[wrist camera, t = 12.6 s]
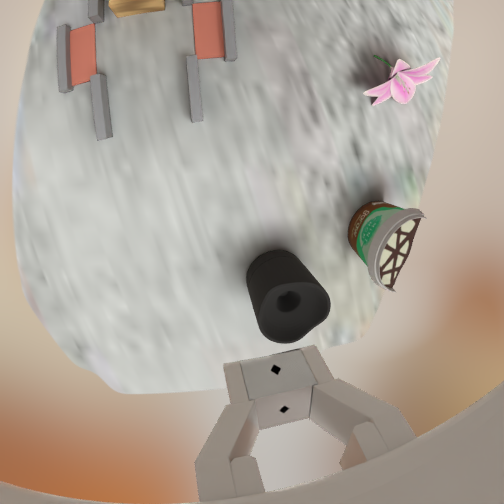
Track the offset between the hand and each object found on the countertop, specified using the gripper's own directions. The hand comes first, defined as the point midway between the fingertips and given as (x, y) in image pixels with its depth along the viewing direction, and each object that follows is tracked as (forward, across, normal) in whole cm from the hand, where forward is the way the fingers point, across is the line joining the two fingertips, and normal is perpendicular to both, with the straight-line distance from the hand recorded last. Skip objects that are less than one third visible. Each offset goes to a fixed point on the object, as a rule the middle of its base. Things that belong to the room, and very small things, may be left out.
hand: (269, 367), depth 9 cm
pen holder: (+31, -8, +16) cm, 36 cm away
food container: (+31, -22, +10) cm, 40 cm away
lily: (+31, -26, -12) cm, 43 cm away
